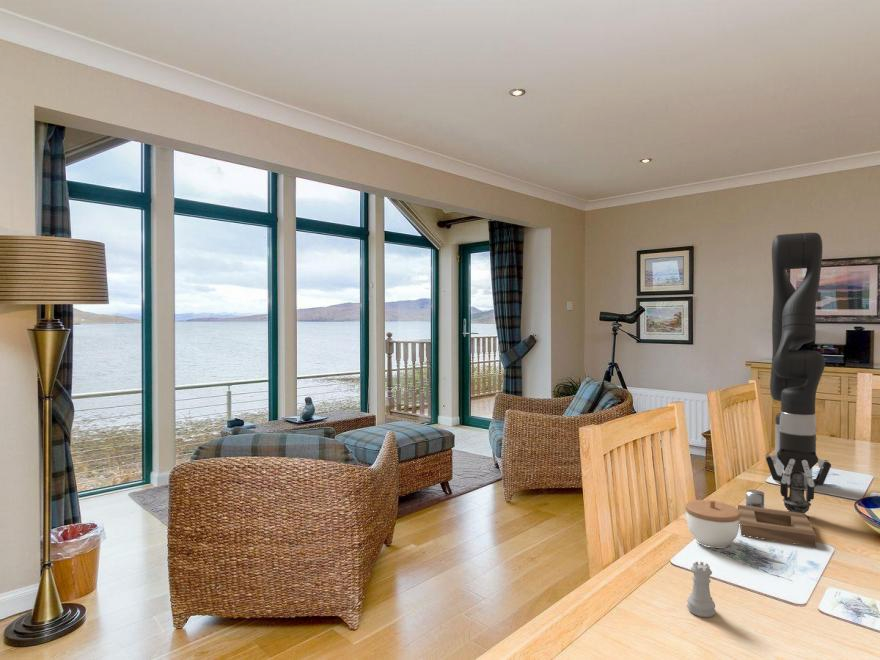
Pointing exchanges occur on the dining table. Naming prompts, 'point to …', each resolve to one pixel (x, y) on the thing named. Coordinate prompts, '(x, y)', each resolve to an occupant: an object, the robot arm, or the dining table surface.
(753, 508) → the hole board
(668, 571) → the dining table surface
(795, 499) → the dark chess piece
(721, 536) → the lidded jar
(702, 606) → the rook chess piece
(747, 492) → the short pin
